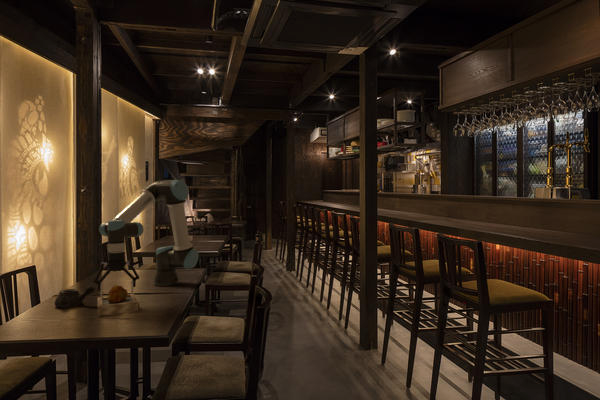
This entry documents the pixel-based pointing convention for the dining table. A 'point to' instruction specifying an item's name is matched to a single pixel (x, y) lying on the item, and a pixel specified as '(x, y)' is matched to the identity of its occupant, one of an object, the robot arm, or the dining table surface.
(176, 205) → the robot arm
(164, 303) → the dining table surface
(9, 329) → the dining table surface
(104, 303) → the plinth
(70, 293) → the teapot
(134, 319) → the dining table surface
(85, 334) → the dining table surface
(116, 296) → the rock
